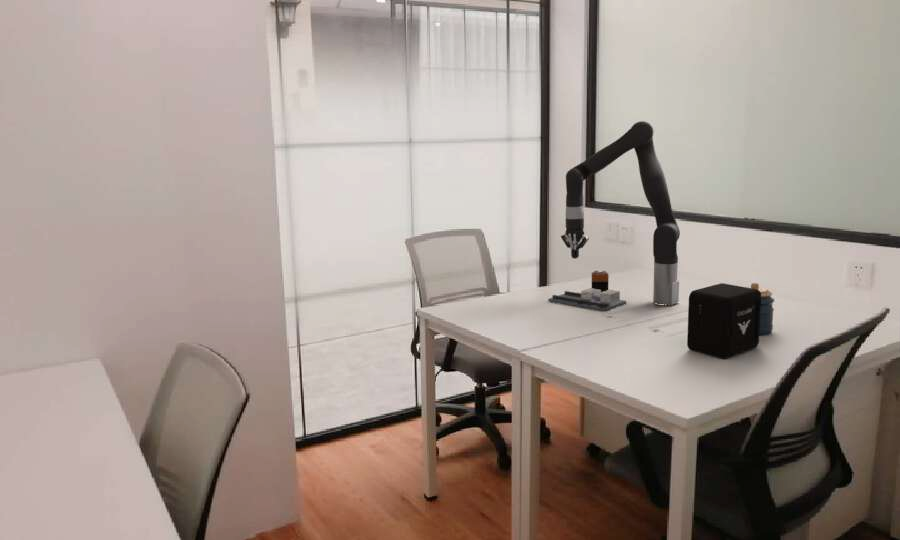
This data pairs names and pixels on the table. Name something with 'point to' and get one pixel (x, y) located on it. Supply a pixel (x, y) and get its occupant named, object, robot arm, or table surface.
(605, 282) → the battery
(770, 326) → the canister
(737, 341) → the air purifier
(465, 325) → the table surface
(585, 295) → the block
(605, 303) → the dark grey piece
